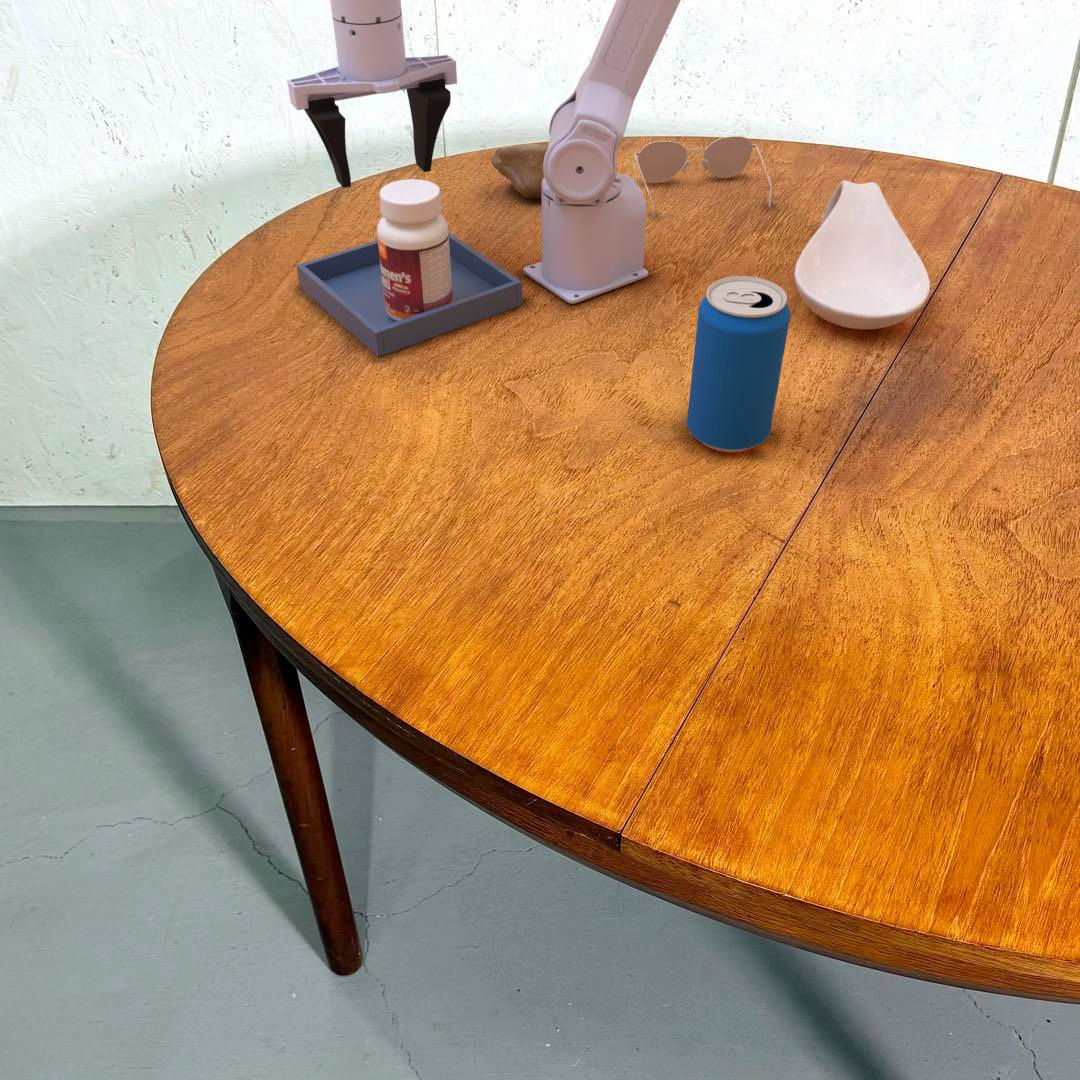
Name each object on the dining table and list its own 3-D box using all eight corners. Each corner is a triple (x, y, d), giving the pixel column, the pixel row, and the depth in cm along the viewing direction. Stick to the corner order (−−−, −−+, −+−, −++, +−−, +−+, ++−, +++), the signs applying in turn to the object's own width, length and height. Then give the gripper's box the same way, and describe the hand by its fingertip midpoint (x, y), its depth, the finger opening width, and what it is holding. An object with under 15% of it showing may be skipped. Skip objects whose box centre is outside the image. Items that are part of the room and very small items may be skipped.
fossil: (595, 146, 111) (503, 134, 108) (595, 187, 111) (503, 176, 108) (567, 176, 120) (482, 165, 117) (567, 214, 120) (481, 205, 117)
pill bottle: (371, 313, 96) (356, 192, 89) (419, 287, 100) (409, 169, 92) (419, 335, 93) (408, 213, 86) (467, 308, 97) (460, 188, 89)
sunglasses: (750, 175, 120) (758, 134, 116) (772, 218, 114) (781, 177, 111) (630, 184, 118) (634, 142, 114) (646, 228, 113) (651, 186, 109)
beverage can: (767, 462, 80) (791, 322, 72) (681, 453, 81) (696, 313, 73) (771, 414, 85) (794, 277, 77) (690, 405, 86) (704, 269, 78)
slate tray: (436, 244, 107) (435, 222, 106) (522, 305, 98) (522, 281, 96) (300, 288, 101) (296, 264, 99) (378, 357, 92) (375, 332, 90)
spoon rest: (928, 353, 91) (949, 277, 87) (790, 343, 93) (803, 268, 88) (899, 231, 109) (915, 162, 104) (783, 224, 110) (793, 156, 105)
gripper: (295, 40, 82) (320, 207, 91) (467, 15, 87) (474, 176, 96) (271, 16, 87) (297, 177, 96) (435, -6, 92) (445, 149, 101)
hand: (384, 175), depth 97 cm, fingers open, 7 cm apart
